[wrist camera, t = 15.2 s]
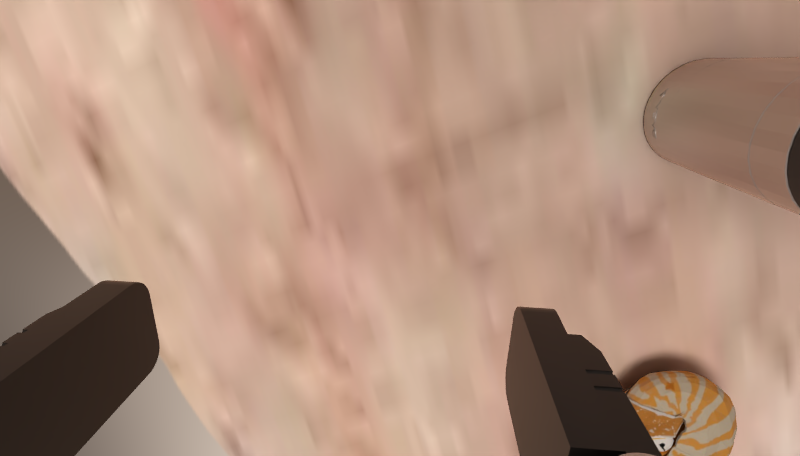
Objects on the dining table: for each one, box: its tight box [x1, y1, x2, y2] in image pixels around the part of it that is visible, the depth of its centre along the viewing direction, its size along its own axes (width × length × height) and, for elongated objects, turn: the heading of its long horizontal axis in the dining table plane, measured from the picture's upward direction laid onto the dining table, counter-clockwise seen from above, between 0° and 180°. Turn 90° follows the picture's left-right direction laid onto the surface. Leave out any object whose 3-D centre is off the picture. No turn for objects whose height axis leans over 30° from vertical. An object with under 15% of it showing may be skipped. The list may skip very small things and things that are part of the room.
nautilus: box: [625, 371, 737, 456], centre depth 48 cm, size 8×22×15 cm
